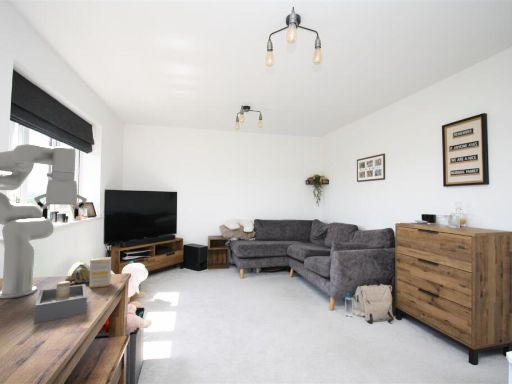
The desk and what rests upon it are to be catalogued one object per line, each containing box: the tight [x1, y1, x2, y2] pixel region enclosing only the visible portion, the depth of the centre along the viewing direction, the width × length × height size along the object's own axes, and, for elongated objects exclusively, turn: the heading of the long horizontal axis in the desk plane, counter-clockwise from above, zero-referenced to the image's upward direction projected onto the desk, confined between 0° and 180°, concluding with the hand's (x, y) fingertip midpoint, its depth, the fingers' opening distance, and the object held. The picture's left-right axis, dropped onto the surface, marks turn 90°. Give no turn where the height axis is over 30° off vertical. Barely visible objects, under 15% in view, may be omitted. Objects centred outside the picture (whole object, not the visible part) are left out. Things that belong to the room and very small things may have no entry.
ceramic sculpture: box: [65, 263, 90, 284], centre depth 127 cm, size 11×9×15 cm
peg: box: [56, 281, 71, 301], centre depth 96 cm, size 4×4×10 cm
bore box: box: [33, 283, 88, 324], centre depth 96 cm, size 16×14×6 cm
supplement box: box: [88, 256, 112, 289], centre depth 122 cm, size 8×5×13 cm, turn 110°
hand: (60, 218), depth 105 cm, fingers open, 9 cm apart
